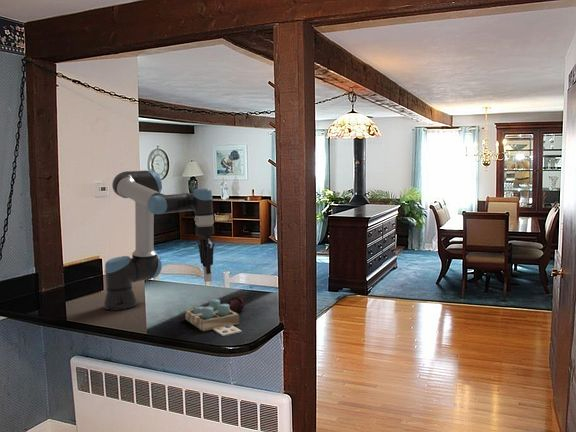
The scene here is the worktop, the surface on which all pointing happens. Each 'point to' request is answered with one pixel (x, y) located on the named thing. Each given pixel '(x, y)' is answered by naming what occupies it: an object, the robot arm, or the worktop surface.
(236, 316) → the wooden compartment tray
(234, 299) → the icecream
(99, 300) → the worktop surface
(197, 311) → the teal rounded lump
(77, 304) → the worktop surface
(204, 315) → the teal domed cylinder
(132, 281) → the robot arm
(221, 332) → the card
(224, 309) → the teal blunt tapered piece
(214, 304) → the teal blunt egg shape
